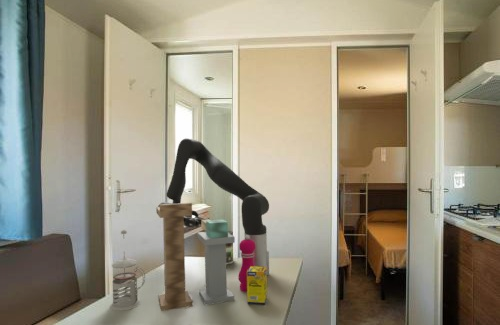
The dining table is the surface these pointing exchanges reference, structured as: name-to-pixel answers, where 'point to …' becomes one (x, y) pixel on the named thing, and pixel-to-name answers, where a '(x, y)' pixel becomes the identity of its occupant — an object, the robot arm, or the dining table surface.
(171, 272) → the walnut stand
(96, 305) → the dining table surface
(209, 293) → the slate pedestal
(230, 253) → the coffee can
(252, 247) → the pepper mill
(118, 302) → the french press
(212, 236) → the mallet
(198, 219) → the robot arm
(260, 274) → the supplement box
